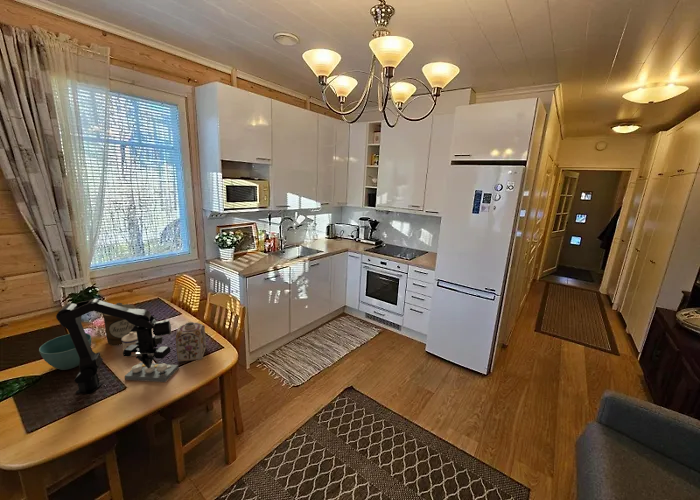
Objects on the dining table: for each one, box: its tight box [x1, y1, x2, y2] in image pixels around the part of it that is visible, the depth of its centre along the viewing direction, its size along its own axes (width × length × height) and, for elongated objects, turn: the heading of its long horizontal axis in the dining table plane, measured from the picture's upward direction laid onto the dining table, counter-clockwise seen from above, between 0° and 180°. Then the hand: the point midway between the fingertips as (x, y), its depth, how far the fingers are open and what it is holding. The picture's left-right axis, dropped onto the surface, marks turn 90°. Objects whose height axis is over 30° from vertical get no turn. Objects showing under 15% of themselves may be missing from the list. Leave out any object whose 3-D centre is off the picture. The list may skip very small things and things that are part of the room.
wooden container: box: [102, 302, 137, 347], centre depth 167 cm, size 15×15×22 cm
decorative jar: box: [175, 321, 207, 363], centre depth 156 cm, size 12×12×18 cm
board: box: [124, 362, 179, 383], centre depth 142 cm, size 10×19×2 cm, turn 88°
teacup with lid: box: [121, 332, 138, 357], centre depth 157 cm, size 12×9×12 cm
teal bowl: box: [38, 332, 92, 371], centre depth 144 cm, size 18×18×12 cm
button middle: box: [144, 365, 155, 374], centre depth 140 cm, size 4×4×4 cm
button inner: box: [131, 363, 142, 373], centre depth 140 cm, size 4×4×4 cm
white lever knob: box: [157, 362, 168, 374], centre depth 139 cm, size 4×4×4 cm
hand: (149, 367), depth 139 cm, fingers closed, pressing on button middle
